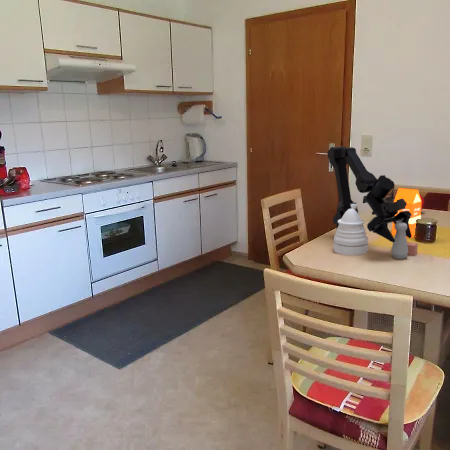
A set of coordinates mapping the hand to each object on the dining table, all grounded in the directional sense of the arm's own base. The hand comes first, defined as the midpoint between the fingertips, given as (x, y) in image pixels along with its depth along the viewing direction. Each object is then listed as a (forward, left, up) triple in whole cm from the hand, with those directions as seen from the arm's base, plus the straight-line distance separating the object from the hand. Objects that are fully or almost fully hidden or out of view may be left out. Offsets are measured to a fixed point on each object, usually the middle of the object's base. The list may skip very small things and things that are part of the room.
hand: (402, 239), depth 162 cm
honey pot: (-19, +2, -7) cm, 21 cm away
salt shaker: (-1, +1, -7) cm, 7 cm away
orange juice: (-6, +35, -7) cm, 36 cm away
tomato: (-13, +80, -7) cm, 81 cm away
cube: (+2, +7, -7) cm, 10 cm away
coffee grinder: (-19, +61, -7) cm, 64 cm away
